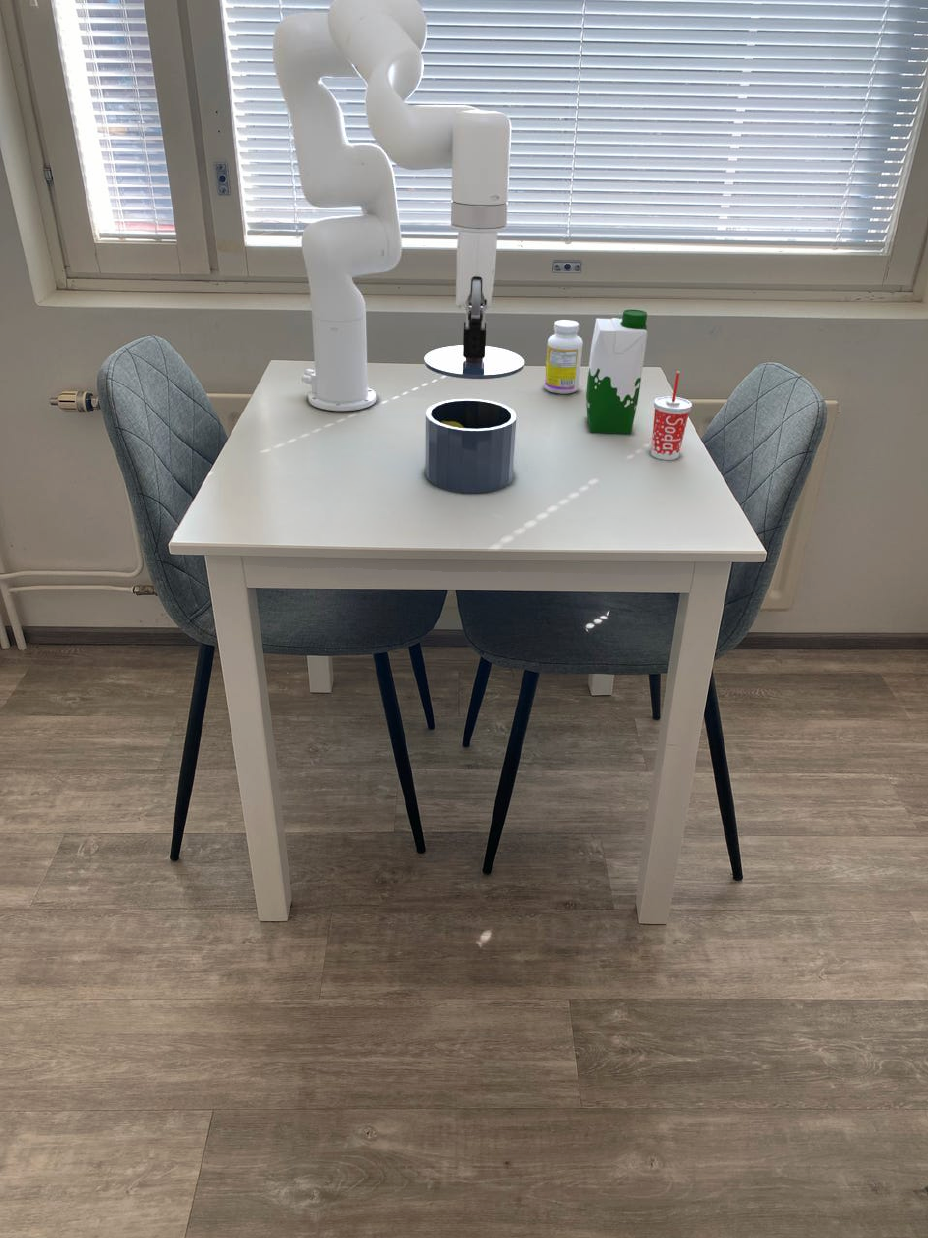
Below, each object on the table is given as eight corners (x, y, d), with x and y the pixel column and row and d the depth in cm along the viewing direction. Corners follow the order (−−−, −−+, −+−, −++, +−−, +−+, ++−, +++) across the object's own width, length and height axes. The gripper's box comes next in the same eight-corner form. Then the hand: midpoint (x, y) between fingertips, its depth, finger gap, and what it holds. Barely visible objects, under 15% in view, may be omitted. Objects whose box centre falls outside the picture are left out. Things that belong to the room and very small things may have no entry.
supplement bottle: (555, 381, 181) (561, 316, 174) (584, 388, 177) (591, 322, 170) (537, 389, 176) (542, 323, 169) (566, 397, 173) (573, 329, 166)
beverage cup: (643, 458, 149) (655, 374, 141) (649, 445, 154) (662, 364, 146) (680, 464, 147) (694, 380, 139) (685, 450, 152) (700, 369, 144)
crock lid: (420, 381, 125) (420, 339, 122) (427, 351, 137) (427, 312, 134) (525, 385, 125) (527, 343, 122) (522, 354, 137) (525, 316, 134)
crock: (422, 491, 135) (423, 428, 129) (428, 456, 146) (429, 396, 141) (512, 495, 135) (517, 432, 129) (511, 460, 146) (515, 400, 141)
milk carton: (636, 436, 157) (653, 319, 146) (584, 434, 157) (597, 317, 146) (630, 418, 164) (645, 306, 153) (581, 416, 164) (592, 304, 153)
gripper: (452, 206, 127) (449, 337, 137) (449, 226, 113) (446, 370, 123) (505, 208, 127) (498, 339, 137) (508, 228, 113) (500, 372, 123)
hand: (474, 352), depth 130 cm, fingers closed on crock lid, 2 cm apart
